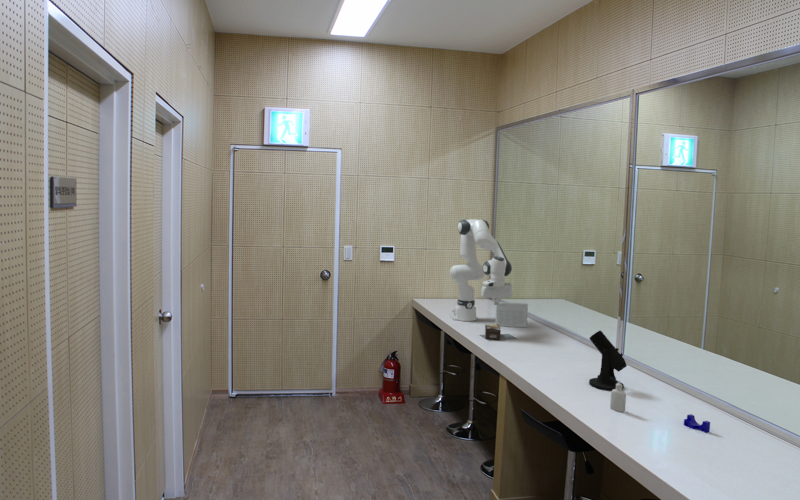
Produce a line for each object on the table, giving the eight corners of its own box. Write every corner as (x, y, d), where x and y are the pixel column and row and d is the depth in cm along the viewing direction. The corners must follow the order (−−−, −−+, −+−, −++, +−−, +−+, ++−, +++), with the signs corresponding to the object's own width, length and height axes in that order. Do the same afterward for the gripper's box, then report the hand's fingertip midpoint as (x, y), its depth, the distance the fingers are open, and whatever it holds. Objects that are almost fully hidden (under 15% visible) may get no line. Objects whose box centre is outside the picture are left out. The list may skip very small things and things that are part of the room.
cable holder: (683, 425, 205) (684, 415, 205) (690, 424, 206) (690, 414, 206) (702, 434, 198) (703, 423, 197) (709, 432, 199) (710, 422, 199)
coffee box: (484, 332, 342) (484, 339, 326) (485, 322, 342) (485, 328, 326) (499, 333, 341) (500, 340, 325) (499, 324, 340) (500, 329, 324)
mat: (479, 335, 336) (479, 335, 336) (508, 334, 342) (508, 333, 342) (487, 339, 326) (487, 339, 326) (517, 338, 331) (517, 338, 331)
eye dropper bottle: (618, 407, 221) (620, 378, 220) (626, 412, 216) (628, 383, 215) (608, 407, 221) (610, 379, 220) (616, 412, 215) (618, 383, 214)
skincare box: (526, 326, 368) (527, 302, 366) (527, 327, 362) (528, 304, 361) (494, 324, 370) (495, 301, 368) (495, 326, 364) (496, 302, 363)
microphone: (592, 377, 259) (596, 326, 257) (630, 386, 249) (633, 332, 246) (581, 384, 248) (584, 331, 246) (619, 394, 237) (623, 338, 235)
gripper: (509, 281, 342) (508, 303, 343) (480, 282, 336) (479, 304, 337) (514, 283, 336) (513, 305, 337) (484, 284, 330) (483, 306, 331)
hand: (496, 304), depth 337 cm, fingers closed
